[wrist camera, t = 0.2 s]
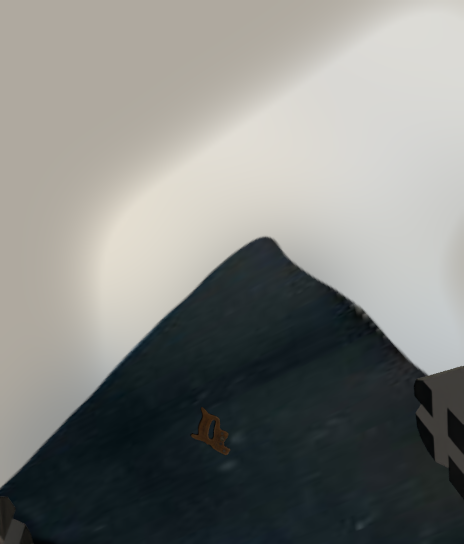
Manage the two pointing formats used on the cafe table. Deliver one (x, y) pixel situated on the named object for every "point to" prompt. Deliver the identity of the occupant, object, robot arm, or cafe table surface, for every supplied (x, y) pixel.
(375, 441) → the cafe table surface
